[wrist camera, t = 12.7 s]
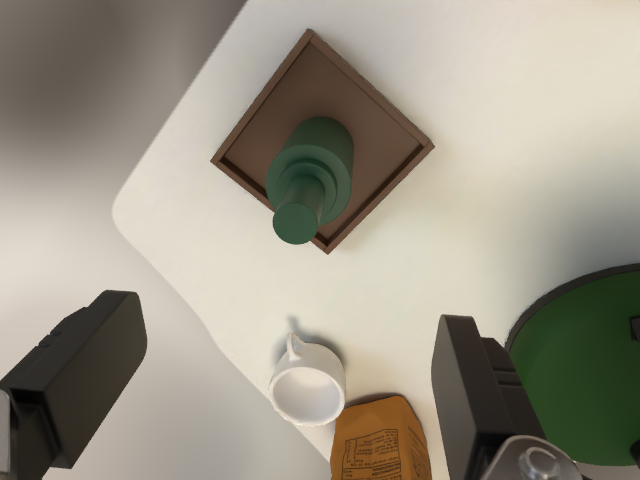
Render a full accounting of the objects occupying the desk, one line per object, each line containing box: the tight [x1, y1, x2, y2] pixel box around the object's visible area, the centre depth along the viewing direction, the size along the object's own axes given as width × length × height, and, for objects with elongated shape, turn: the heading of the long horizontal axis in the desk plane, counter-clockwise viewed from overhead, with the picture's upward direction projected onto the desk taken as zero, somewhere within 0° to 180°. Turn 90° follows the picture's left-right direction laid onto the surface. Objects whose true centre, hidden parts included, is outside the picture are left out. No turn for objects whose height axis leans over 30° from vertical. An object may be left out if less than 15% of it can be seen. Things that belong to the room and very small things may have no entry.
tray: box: [210, 29, 435, 255], centre depth 36 cm, size 13×13×2 cm
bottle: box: [266, 117, 354, 245], centre depth 30 cm, size 6×6×16 cm
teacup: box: [269, 333, 346, 427], centre depth 45 cm, size 10×8×5 cm
